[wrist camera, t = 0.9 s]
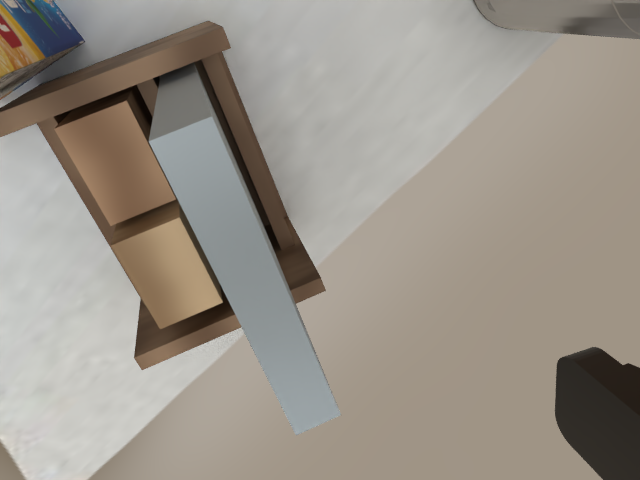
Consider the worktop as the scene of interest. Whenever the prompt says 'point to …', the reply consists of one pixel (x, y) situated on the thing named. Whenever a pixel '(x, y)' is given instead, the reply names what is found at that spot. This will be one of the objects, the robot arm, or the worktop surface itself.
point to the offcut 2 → (166, 264)
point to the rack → (145, 70)
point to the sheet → (237, 245)
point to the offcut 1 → (116, 154)
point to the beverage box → (31, 40)
